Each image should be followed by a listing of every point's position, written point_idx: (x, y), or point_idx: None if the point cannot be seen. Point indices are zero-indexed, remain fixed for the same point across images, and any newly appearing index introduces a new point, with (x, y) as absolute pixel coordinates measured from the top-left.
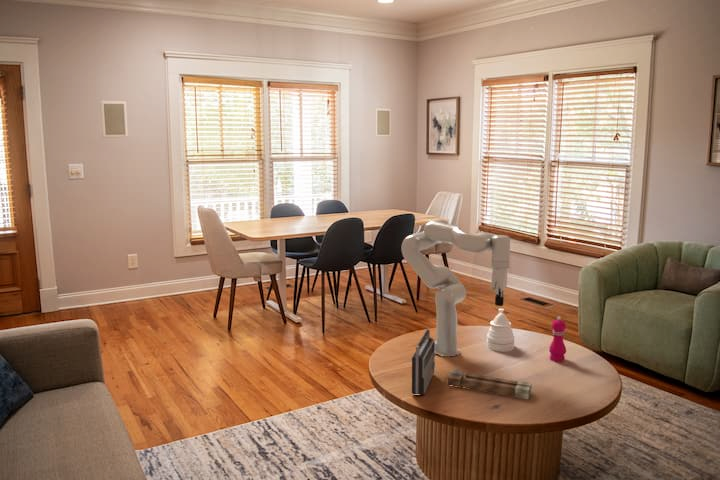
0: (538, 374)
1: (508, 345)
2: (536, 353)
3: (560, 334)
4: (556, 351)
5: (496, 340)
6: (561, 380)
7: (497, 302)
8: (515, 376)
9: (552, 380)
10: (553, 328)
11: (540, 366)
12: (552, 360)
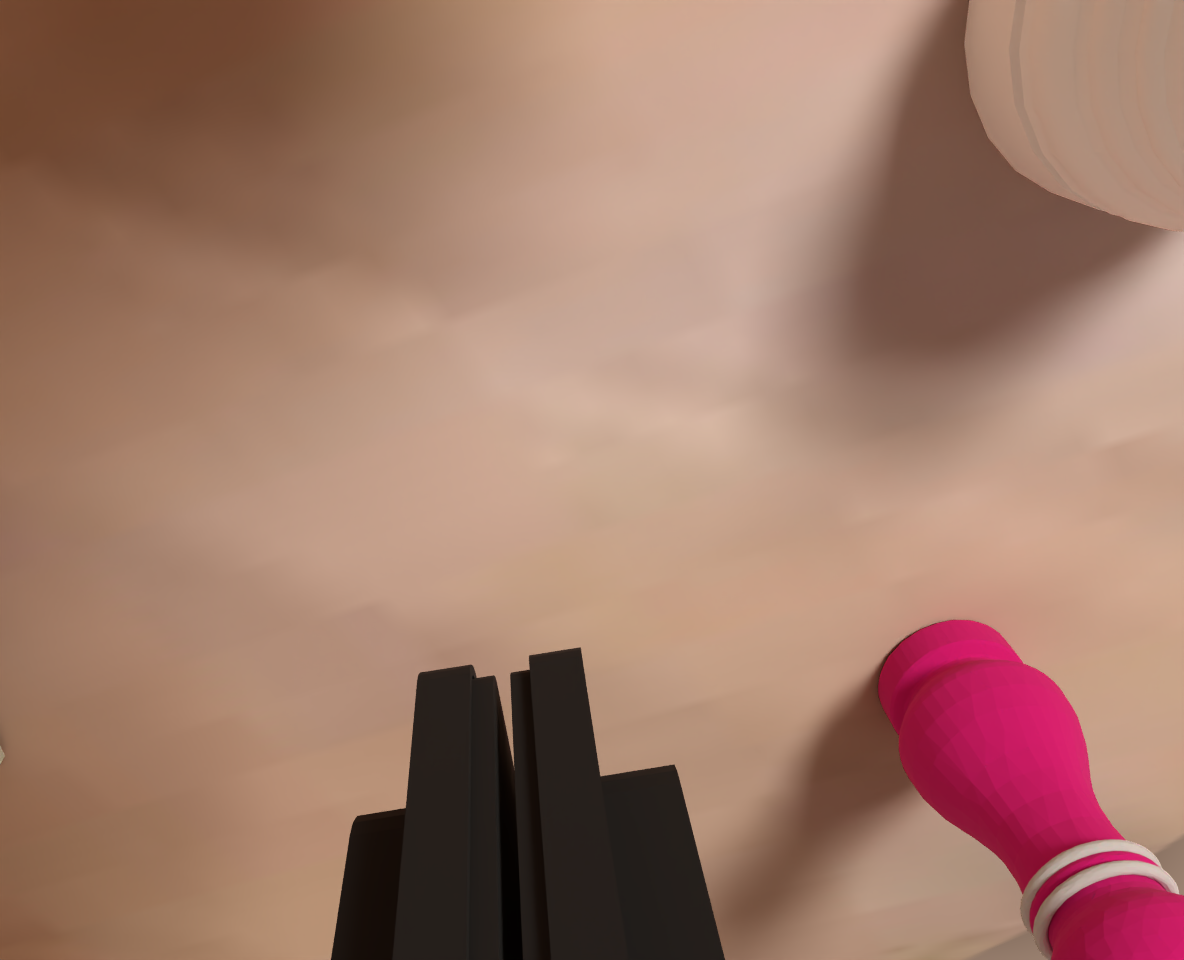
0: (472, 664)
1: (1055, 183)
2: (1045, 471)
3: (1032, 932)
4: (910, 762)
5: (1047, 21)
6: None
7: (356, 885)
8: (278, 516)
9: (407, 789)
10: (1079, 927)
11: (687, 615)
12: (888, 657)
